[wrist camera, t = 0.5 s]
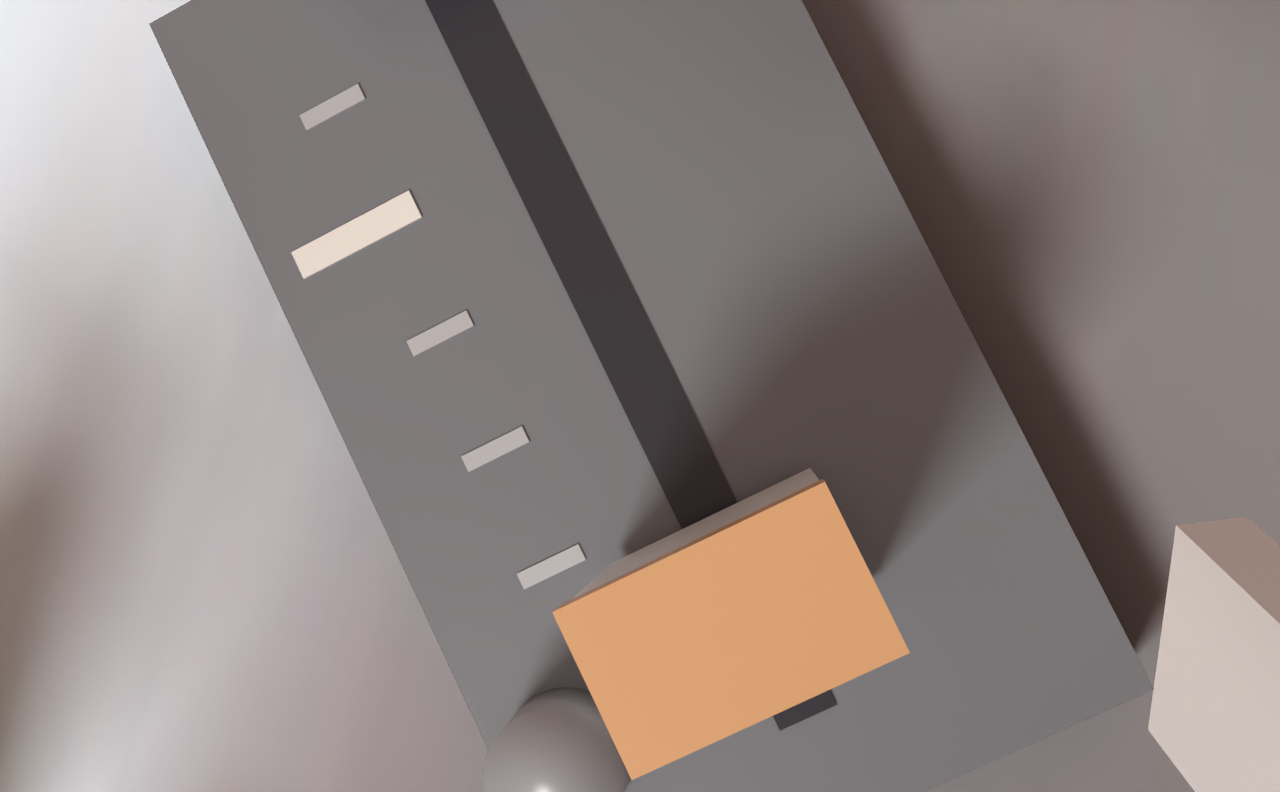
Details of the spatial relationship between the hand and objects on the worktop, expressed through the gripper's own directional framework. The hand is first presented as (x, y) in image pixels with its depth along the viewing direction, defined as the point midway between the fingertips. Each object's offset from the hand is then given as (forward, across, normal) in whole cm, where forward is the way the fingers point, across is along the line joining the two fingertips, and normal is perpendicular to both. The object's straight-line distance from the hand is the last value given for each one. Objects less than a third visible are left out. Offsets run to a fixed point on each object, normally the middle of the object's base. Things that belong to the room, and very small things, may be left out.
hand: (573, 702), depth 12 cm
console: (+16, -2, +2) cm, 16 cm away
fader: (+11, -3, +6) cm, 13 cm away
